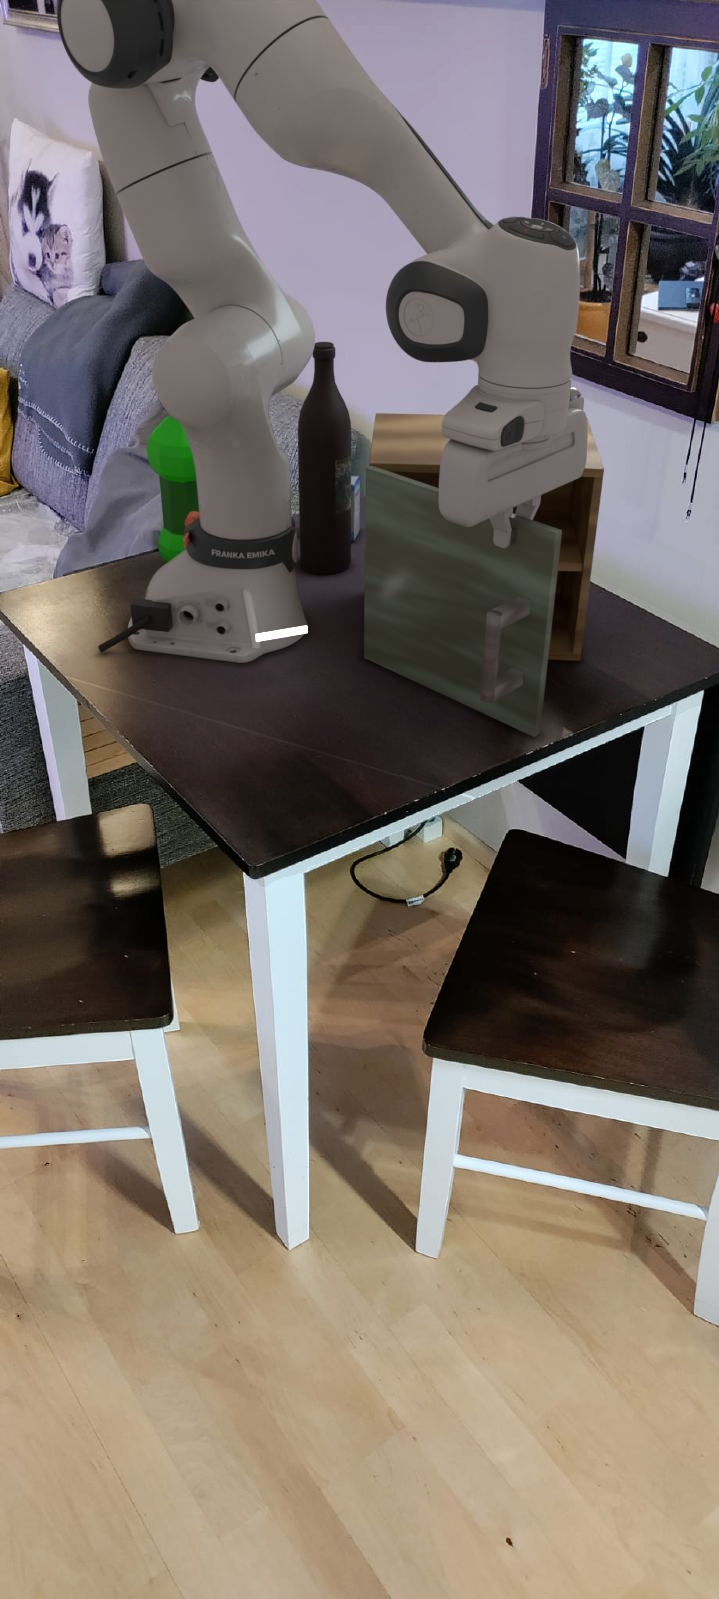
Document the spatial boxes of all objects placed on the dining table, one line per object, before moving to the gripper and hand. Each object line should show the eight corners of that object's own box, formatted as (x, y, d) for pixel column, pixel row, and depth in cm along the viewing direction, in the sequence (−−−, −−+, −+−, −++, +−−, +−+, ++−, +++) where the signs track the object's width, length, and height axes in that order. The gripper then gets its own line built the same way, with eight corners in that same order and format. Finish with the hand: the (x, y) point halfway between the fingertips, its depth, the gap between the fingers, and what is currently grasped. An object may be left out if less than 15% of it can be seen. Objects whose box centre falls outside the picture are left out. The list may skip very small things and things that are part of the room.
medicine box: (301, 538, 178) (300, 481, 173) (307, 527, 182) (306, 470, 177) (354, 542, 177) (355, 484, 172) (359, 530, 181) (360, 474, 176)
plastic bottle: (154, 583, 165) (137, 397, 151) (164, 552, 174) (148, 373, 159) (228, 584, 165) (217, 398, 151) (234, 552, 174) (225, 374, 159)
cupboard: (580, 661, 148) (604, 468, 134) (366, 654, 149) (369, 462, 135) (567, 597, 163) (587, 417, 149) (373, 591, 164) (375, 412, 150)
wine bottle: (340, 579, 167) (339, 354, 149) (292, 571, 169) (287, 348, 151) (357, 559, 172) (359, 340, 155) (311, 552, 174) (308, 334, 157)
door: (501, 757, 130) (519, 549, 116) (329, 674, 144) (328, 480, 131) (540, 734, 134) (562, 529, 120) (369, 655, 148) (371, 465, 135)
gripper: (557, 376, 125) (545, 505, 133) (429, 422, 112) (424, 562, 120) (610, 389, 121) (594, 521, 129) (483, 438, 109) (474, 580, 117)
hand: (511, 541), depth 125 cm, fingers closed, pressing on door
